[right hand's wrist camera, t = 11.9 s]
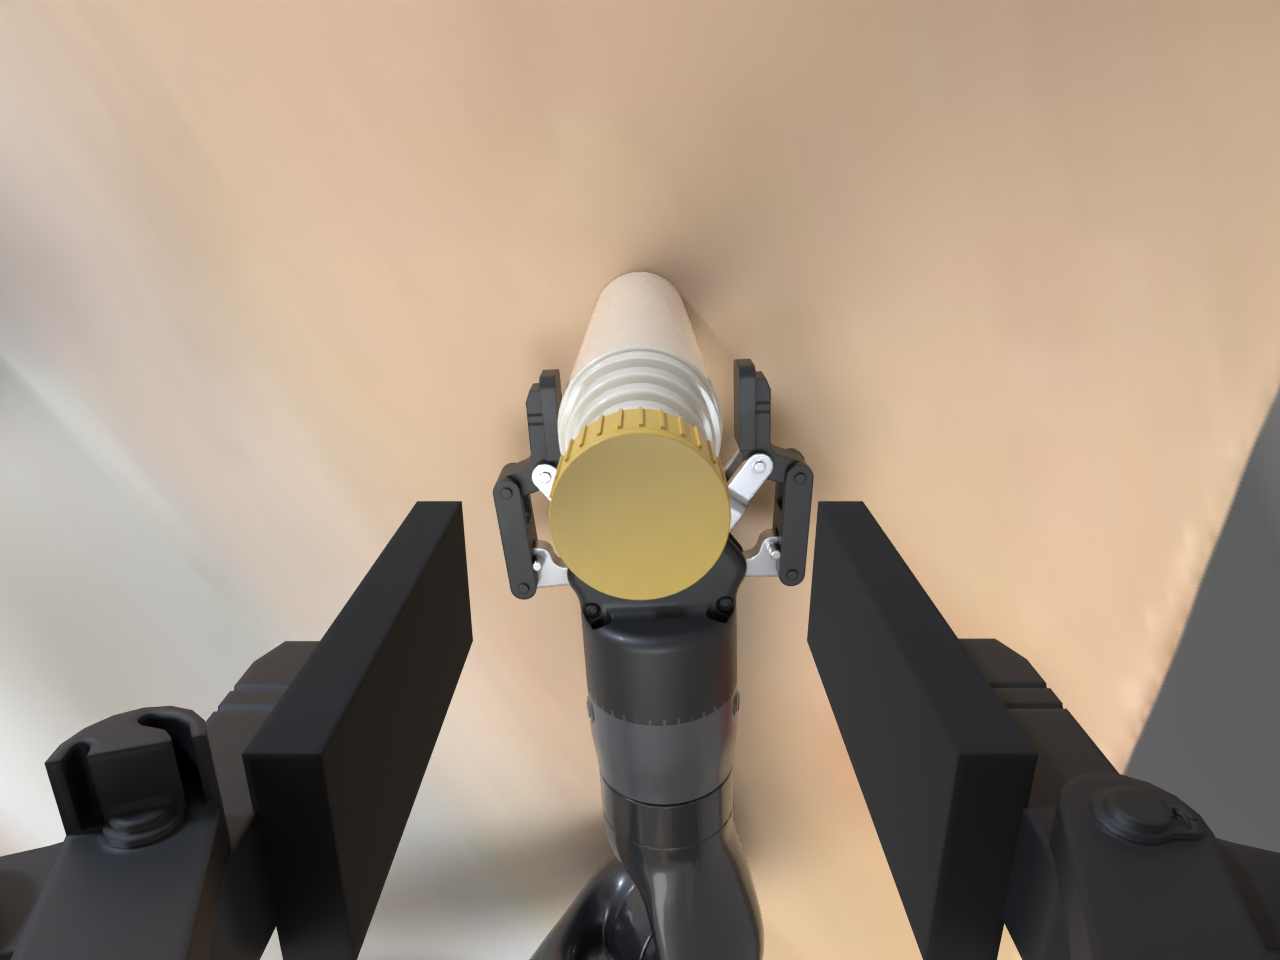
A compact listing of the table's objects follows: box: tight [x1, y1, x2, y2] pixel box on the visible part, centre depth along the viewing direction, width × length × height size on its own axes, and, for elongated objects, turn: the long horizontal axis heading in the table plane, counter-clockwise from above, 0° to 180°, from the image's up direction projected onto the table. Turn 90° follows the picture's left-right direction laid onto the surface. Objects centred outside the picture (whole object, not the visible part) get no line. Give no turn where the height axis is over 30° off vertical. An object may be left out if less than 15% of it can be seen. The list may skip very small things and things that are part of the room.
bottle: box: [558, 272, 723, 457], centre depth 29 cm, size 5×5×25 cm
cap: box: [548, 406, 732, 600], centre depth 17 cm, size 4×4×2 cm
